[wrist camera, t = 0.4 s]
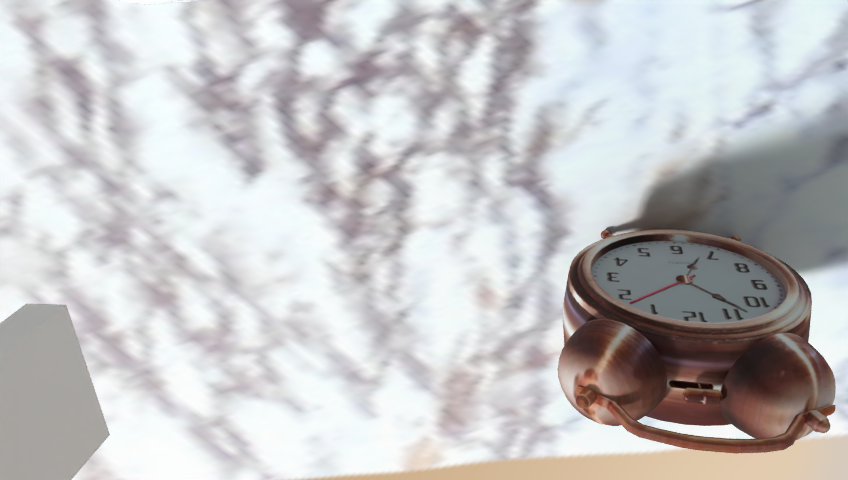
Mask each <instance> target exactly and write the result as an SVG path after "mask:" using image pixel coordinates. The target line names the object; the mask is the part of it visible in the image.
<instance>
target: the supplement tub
mask: <svg viewBox="0 0 848 480" xmlns="http://www.w3.org/2000/svg"><path fill="white" fill-rule="evenodd" d="M121 1H125V2H131V3H137V4H165V3H178V2H189V1H195V0H121Z"/></svg>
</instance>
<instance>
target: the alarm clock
mask: <svg viewBox="0 0 848 480" xmlns="http://www.w3.org/2000/svg"><path fill="white" fill-rule="evenodd" d="M601 237H602V238H603V240H600V241H597V242H595V243H593V244H591V245H589V246H587V247H586V248H585V249H583V250H582V251H581V252H579V253H578V255H577V256H576V257H575V258H574V260H573V261H572V263H571V266H570V270H569V275H568V280H567V286H566V292H565V298H564V306H563V328H564V348H563V350H562V353H561V355H560V358H559V365H558V377H559V381H560V384H561V387H562V390H563V392H564V393H565V395H566V397H567V399H568V400H569V402H570V403H571V404H572V406H573V407H574V408H575V409H577V410H578V411H579V412H580V413H581V414H582V415H584V416H585V417H587V418H589V419H591V420H593V421H595V422H597V423H600V424H605V425H611V426H619V425H622V426H623V427H624V428H625V429H626V430H627V431H629V432H631V433H633V434H634V435H636V436H638V437H641V438H645V439H649V440H653V441H657V442H661V443H665V444H669V445H673V446H677V447H682V448H688V449H695V450H703V451H715V452H726V453H758V452H771V451H777V450H784V449H786V448H788V447H789V446H791V445H793V443H794V441H795V440H798V439H800V438H802V437H804V436H806V435H808V434H809V433H811V432H812V431H813V430H814V431H815V432H821V433H825V432H827V431H828V430H829V429H830V423H829V420H828V418H826V417H827V416H828V415H831V414H832V413H834V411H835V405H832V404H833V402H834V398H835V378H834V375H833V372H832V370H831V368H830V367H829V365H828V364H827V362H826V360H825V359H824V357H823V356H822V355H821V354H820V353H819V352H818V351H817V350H816V349H815V348H814V347H813V346H812V345H810V344H809V343H808V339H809V329H810V318H811V305H812V300H811V292H810V290H809V288H808V286H807V284H806V282H805V281H804V279H803V278H802V277H801V276H800V275H799V274H798V273H797V272H796V271H795V270H793V269H792V268H791V267H790V266H788V265H787V264H786V263H784V262H782V261H781V260H779V259H777V258H776V257H774V256H772V255H770V254H768V253H766V252H764V251H762V250H759V249H757V248H755V247H753V246H751V245H748V244H745V243H742V242H741V240H740V238H739V237H737V236H732V237H731V238H726V237H722V236H718V235H713V234H708V233H702V232H696V231H685V230H664V229H658V230H642V231H636V232H630V233H624V234H620V235H616V236H614V235H611V233H610V231H608V230H605V231H603V232H602V233H601ZM644 416H647V417H651V418H654V419H658V420H661V421H667V422H673V423H679V424H686V425H702V426H711V425H728V424H732V425H734V426H735V427H736V428H738V429H739V430H741V431H743V432H745V433H746V434H748V435H750V436H752V437H754V438H756V439H725V438H714V437H702V436H694V435H688V434H681V433H676V432H671V431H667V430H662V429H658V428H654V427H650V426H647V425H643V424H641V423H639V422H638V421H637V420H639V419H641V418H642V417H644Z"/></svg>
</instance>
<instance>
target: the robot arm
mask: <svg viewBox="0 0 848 480" xmlns="http://www.w3.org/2000/svg"><path fill="white" fill-rule="evenodd" d="M109 435H110V434H109V431H108V428H107V425H106V422H105V419H104V416H103V413H102V410H101V407H100V404H99V401H98V398H97V395H96V392H95V389H94V386H93V383H92V381H91V378H90V375H89V372H88V369H87V366H86V363H85V360H84V357H83V354H82V351H81V348H80V345H79V342H78V339H77V336H76V333H75V330H74V327H73V324H72V321H71V318H70V315H69V312H68V309H67V306H66V305H52V304H26V305H24V306H23V307H22V308H20V309H19V310H18V311H16V312H15V313H14V314H12V315H11V316H10V317H8V318H7V319H6V320H4V321H3V322H2V323H0V480H71V479H72V478H73V477H74V476H75V475H76V474H77V472H78V471H79V470H80V469H81V468H82V467H83V465H84V464H85V463H86V462H87V461H88V459H89V458H90V457H91V456H92V455H93V454H94V452H95V451H96V450H97V449H98V448H99V447H100V445H101V444H102V443H103V442H104V441H105V440H106V438H107V437H108V436H109Z"/></svg>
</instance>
